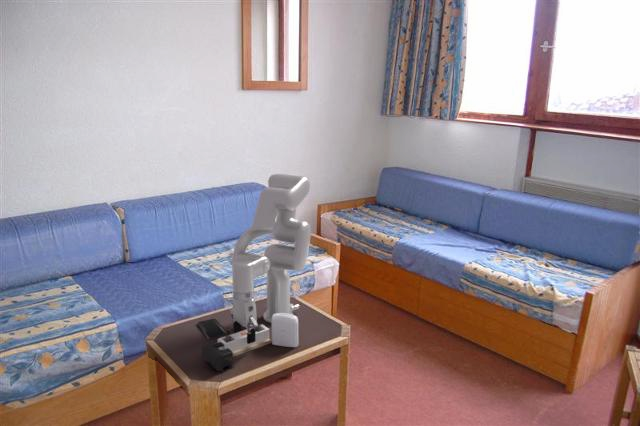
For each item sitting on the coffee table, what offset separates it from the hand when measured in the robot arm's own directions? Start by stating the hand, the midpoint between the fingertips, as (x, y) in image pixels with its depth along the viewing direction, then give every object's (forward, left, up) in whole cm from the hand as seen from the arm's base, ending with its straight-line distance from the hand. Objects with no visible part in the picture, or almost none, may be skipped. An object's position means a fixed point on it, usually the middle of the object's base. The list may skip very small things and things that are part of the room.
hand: (244, 337), depth 184 cm
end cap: (+14, +5, -4) cm, 15 cm away
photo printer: (-13, +8, -4) cm, 16 cm away
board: (0, 0, -4) cm, 4 cm away
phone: (+3, -19, -4) cm, 20 cm away
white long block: (0, 0, -3) cm, 3 cm away
